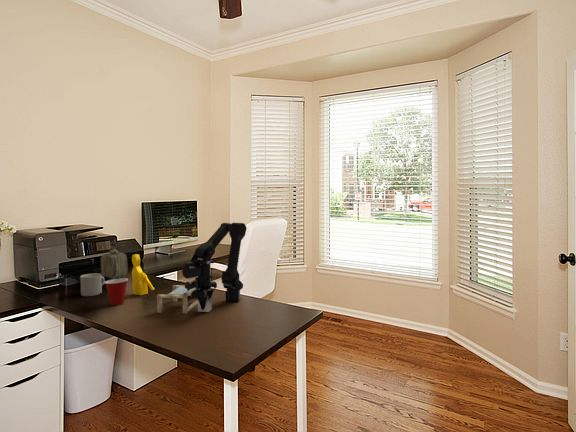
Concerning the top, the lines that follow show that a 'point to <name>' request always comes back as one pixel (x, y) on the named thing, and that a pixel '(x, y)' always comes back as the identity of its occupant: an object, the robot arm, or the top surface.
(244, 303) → the top surface
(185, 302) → the birch frame
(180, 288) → the flap
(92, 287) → the coffee mug
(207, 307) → the steel cube
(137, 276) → the figure statuette
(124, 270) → the tabletop clock
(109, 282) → the plastic cup
